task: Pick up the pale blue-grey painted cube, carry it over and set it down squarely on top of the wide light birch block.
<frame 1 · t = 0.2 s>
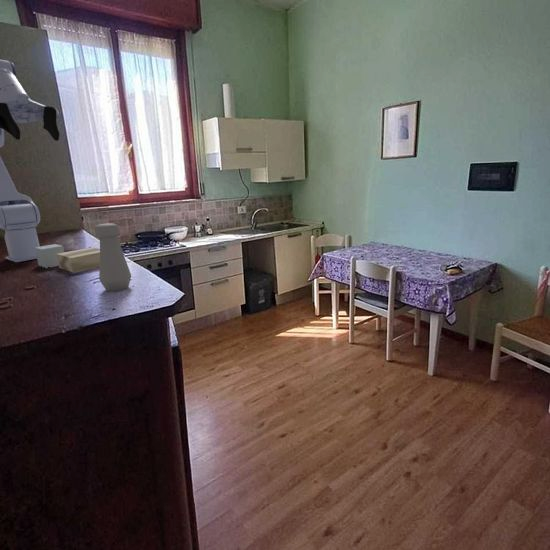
hand: (38, 136, 79), 31 cm above the cabinet, tool tilted 45°, fingers open, 7 cm apart
blue-grey cube: (52, 265, 95), on the cabinet
salt shaker: (117, 289, 72), on the cabinet
birch block: (85, 267, 92), on the cabinet
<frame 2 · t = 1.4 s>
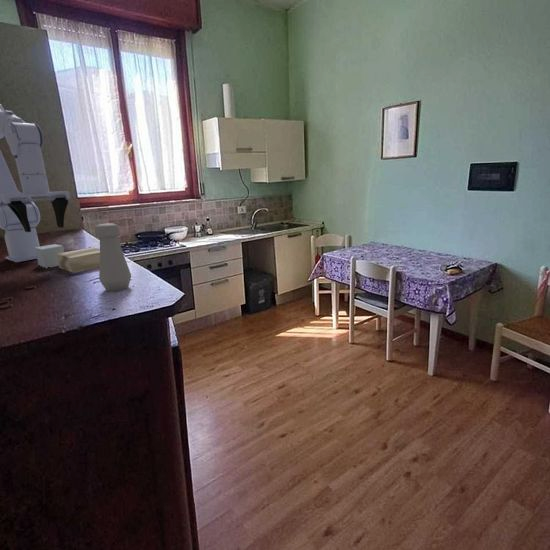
hand: (45, 229, 92), 9 cm above the cabinet, tool pointing down, fingers open, 7 cm apart
nothing on the cabinet moved.
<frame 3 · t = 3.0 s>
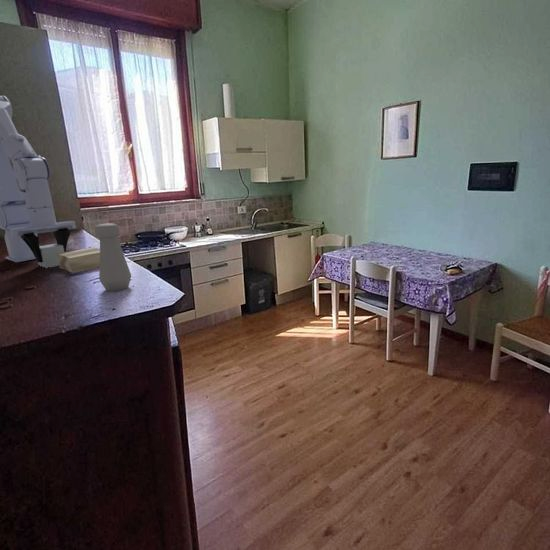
hand: (51, 259, 95), 1 cm above the cabinet, tool pointing down, fingers closed on blue-grey cube, 5 cm apart
blue-grey cube: (52, 264, 95), on the cabinet, touching gripper
everything else where it was.
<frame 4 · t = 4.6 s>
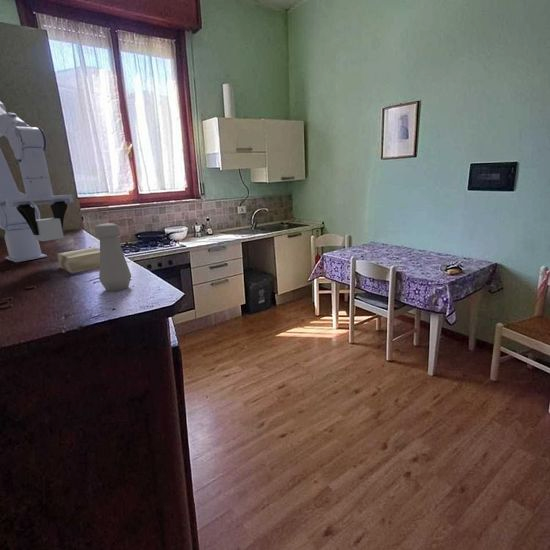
hand: (48, 233, 92), 8 cm above the cabinet, tool pointing down, fingers closed on blue-grey cube, 5 cm apart
blue-grey cube: (49, 238, 93), point 7 cm above the cabinet, touching gripper
everything else where it was.
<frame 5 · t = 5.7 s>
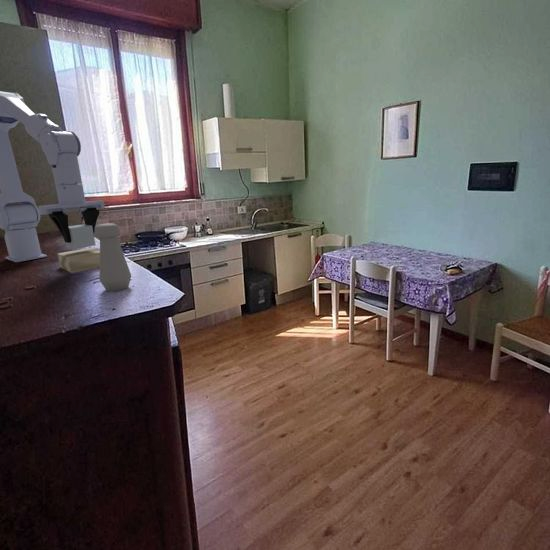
hand: (80, 240, 90), 7 cm above the cabinet, tool pointing down, fingers closed on blue-grey cube, 5 cm apart
blue-grey cube: (81, 246, 90), point 5 cm above the cabinet, touching gripper
everything else where it was.
when the fingers open (7 cm above the cabinet, at t = 6.4 s): blue-grey cube drops 2 cm, resting on birch block.
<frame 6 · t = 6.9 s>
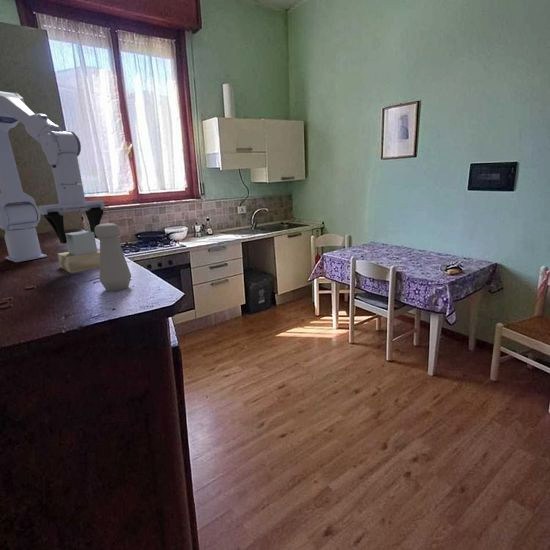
hand: (80, 240, 90), 7 cm above the cabinet, tool pointing down, fingers open, 7 cm apart
blue-grey cube: (83, 252, 91), point 4 cm above the cabinet, touching birch block
birch block: (85, 267, 92), on the cabinet, touching blue-grey cube
everything else where it was.
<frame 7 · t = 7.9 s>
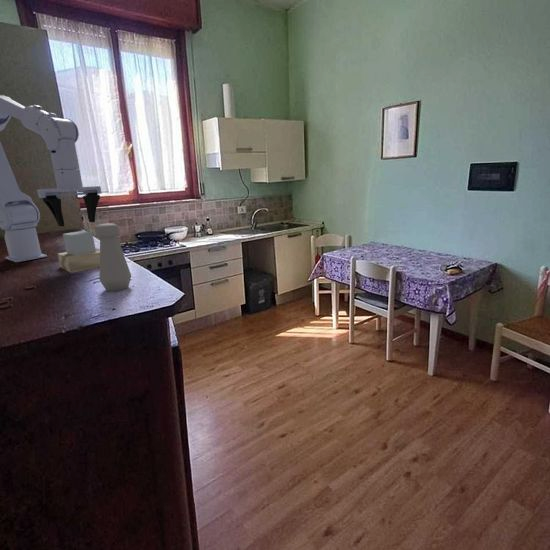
hand: (77, 224, 93), 10 cm above the cabinet, tool pointing down, fingers open, 7 cm apart
blue-grey cube: (81, 252, 91), point 4 cm above the cabinet
birch block: (85, 267, 92), on the cabinet
everything else where it was.
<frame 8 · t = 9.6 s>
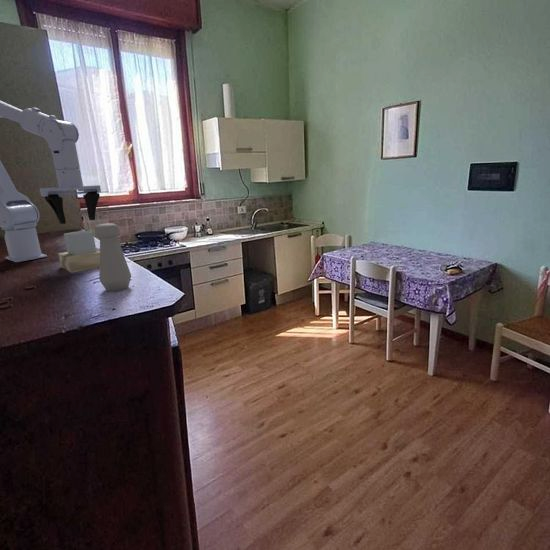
hand: (78, 221, 97), 10 cm above the cabinet, tool pointing down, fingers open, 7 cm apart
blue-grey cube: (82, 252, 91), point 4 cm above the cabinet, touching birch block
birch block: (85, 267, 92), on the cabinet, touching blue-grey cube
everything else where it was.
at the end: blue-grey cube 0.1 cm off-centre on the birch block, point 4.0 cm above the birch block's base; blue-grey cube tilted 0°; blue-grey cube touching birch block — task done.
